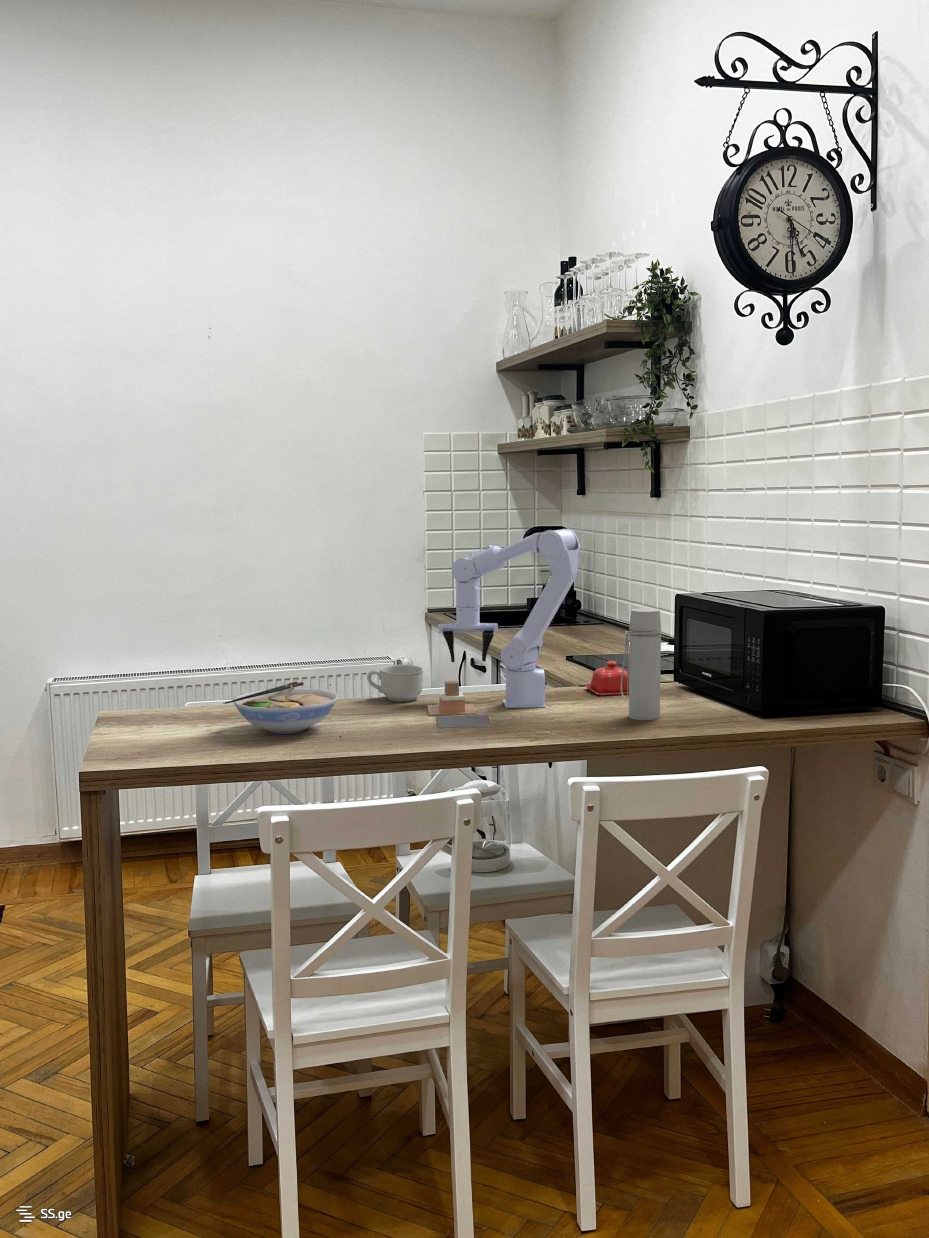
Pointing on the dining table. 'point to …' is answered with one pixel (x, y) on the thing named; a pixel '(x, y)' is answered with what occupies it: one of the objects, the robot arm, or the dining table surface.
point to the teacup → (399, 682)
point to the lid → (452, 691)
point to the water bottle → (643, 664)
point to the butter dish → (608, 680)
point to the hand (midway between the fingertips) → (468, 661)
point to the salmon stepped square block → (451, 708)
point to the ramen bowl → (285, 707)
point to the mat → (463, 721)
